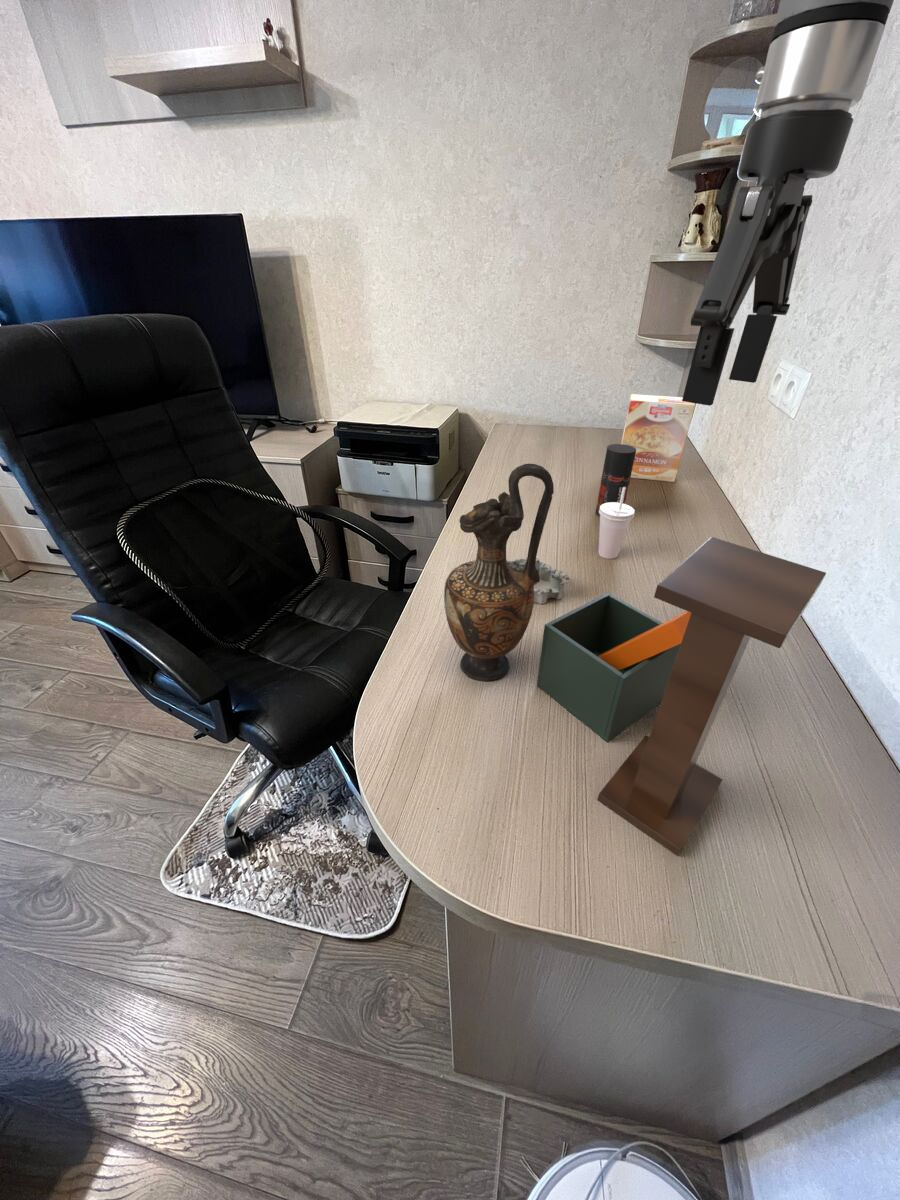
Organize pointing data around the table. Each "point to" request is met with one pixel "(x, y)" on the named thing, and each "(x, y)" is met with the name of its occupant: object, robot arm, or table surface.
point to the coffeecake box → (657, 434)
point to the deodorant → (616, 473)
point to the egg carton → (546, 581)
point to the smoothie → (613, 526)
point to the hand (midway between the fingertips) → (721, 391)
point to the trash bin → (602, 666)
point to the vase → (495, 581)
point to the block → (648, 643)
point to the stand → (704, 679)
